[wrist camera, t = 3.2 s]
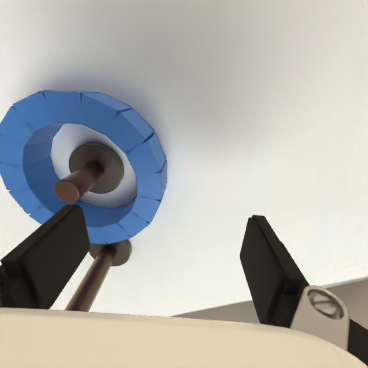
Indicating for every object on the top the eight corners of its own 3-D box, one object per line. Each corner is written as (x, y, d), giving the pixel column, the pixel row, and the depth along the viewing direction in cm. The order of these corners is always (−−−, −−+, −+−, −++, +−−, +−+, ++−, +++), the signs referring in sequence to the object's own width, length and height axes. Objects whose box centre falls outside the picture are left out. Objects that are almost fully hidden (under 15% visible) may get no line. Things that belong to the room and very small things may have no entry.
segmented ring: (167, 96, 15) (161, 96, 12) (166, 226, 20) (161, 248, 17) (7, 87, 15) (-37, 85, 12) (50, 218, 21) (26, 238, 18)
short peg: (121, 144, 17) (94, 162, 12) (126, 191, 19) (104, 222, 14) (68, 141, 17) (22, 158, 12) (79, 188, 19) (43, 217, 14)
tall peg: (130, 232, 21) (33, 439, 8) (133, 262, 23) (59, 465, 10) (88, 229, 21) (-70, 429, 8) (95, 259, 23) (-24, 457, 10)
